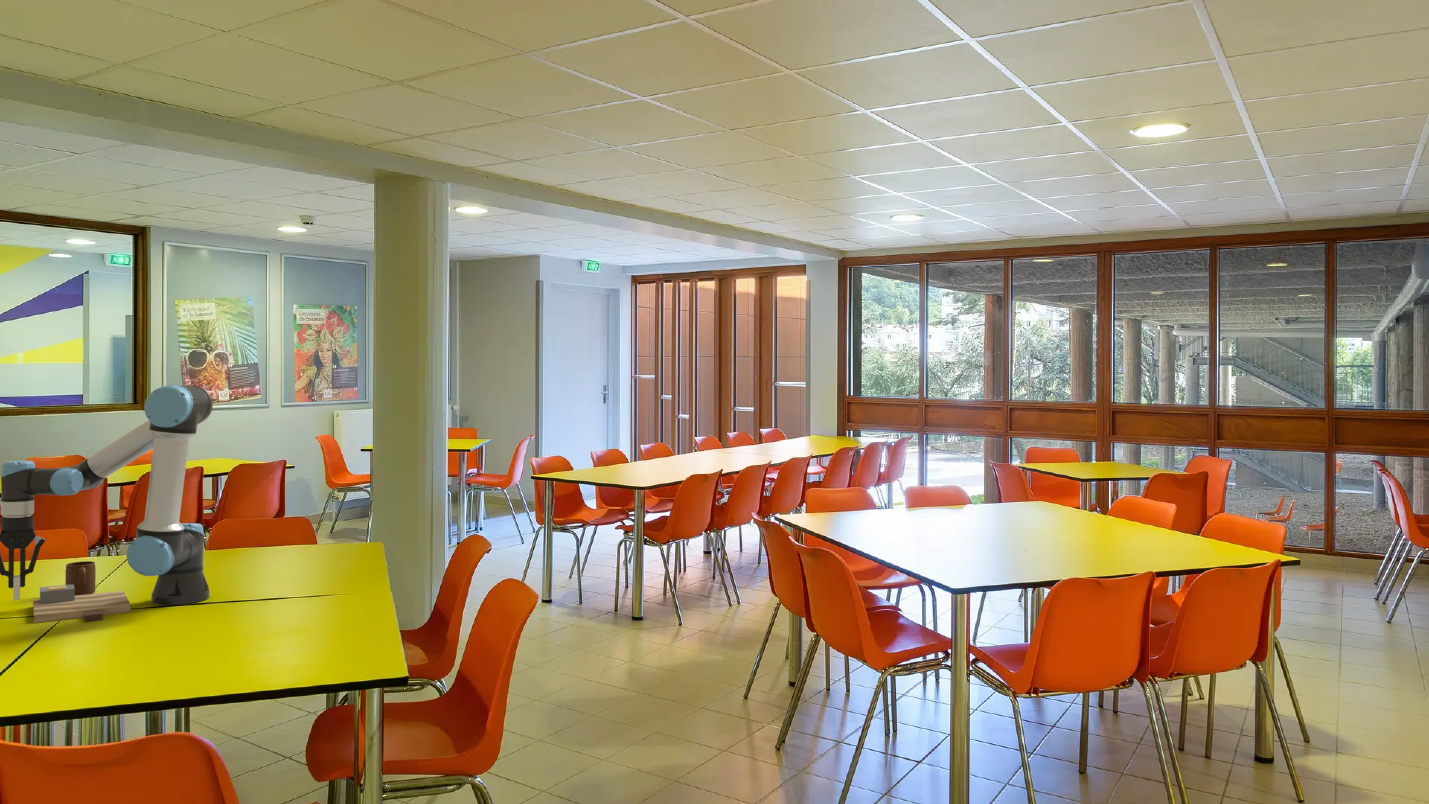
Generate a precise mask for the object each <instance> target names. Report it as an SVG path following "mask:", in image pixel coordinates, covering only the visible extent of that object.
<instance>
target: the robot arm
mask: <svg viewBox="0 0 1429 804" xmlns="http://www.w3.org/2000/svg"><path fill="white" fill-rule="evenodd" d="M213 405H214V403H213V399H212V397H211V395H210V394H209V392H207V390H206V389H204V388H203V387H200V386H197V385H194V384H193V385H181V384H178V385H177V384H168V385H165V386H164V385H163V386H161V387H158V388H155V390H153V391H151V392H150V394H149V395H148V396H147V398H146V400H145V401H144V414H145V417H146V418H147V419H148V420H146V421H144V422H142V423H141V424H140V425H138V426H136V427H135V428H133V429H131V430H130V431H128V432H127V433H125V434H124V435H122V436H121V437H119V438H117V439H116V440H114V441H113V442H111V443H109V444H108V445H107V446H105V447H104V448H101V449H100V450H98V451H97V452H95V453H94V454H92V455H91V456H89V457H87V458H85V460H83V461H81V462H79V463H78V464H76V465H71V466H63V467H55V468H53V467H52V468H50V467H49V468H39V467H36V464H35V463H36V462H34V461H33V460H9V461H8V460H7V461H5V462H3V463H2V465H1V473H0V474H1V475H0V483H1V485H0V490H1V493H0V494H1V495H0V496H1V498H0V515H1V516H2V517H0V543H2V545H3V546H4V547H6V549H8V565H7V566H8V570H6V567H5V563H4V560H3V558H2V554H1V553H0V575H1V576H5V577H7V578H8V580H7V581H8V582H7V583H8V585H7V588H9V589H12V590H13V591H12V592H13V594H12V597H13V598H12V599H13V600H12V601H20V600H21V588H24V587H25V586H26V576H27V575H29V574H31V573H33V572H34V569H35V567H36V562H37V560H38V557H39V555H40V554H39V553H40V551H41V547H42V546H43V545H44V544H45V542H46V540H45V538H44V537H40V536H38V535H37V533H36V532H35V516H34V513H35V496H37V495H39V496H40V495H41V496H43V495H44V496H61V497H64V496H74V495H76V494H77V495H78V493H79V492H80V491H89V490H92V489H94V488H97V487H99V486H100V485H101V484H102V483H103V482H104V480H105V479H106V478H108V477H109V476H111V475H113V474H115V472H117V471H119V470H121V469H122V468H124V467H125V466H126V465H128V464H130V463H131V462H133V461H134V460H135V461H136V460H137V459H138V458H140V457H141V456H143V455H145V454H147V452H150V451H151V450H152V455H151V457H152V458H151V465H150V472H149V481H148V482H149V483H148V489H147V497H146V503H145V504H146V506H145V512H144V513H145V514H144V520H143V521H142V522H140V523H139V524H138V525H137V528H136V534H135V535H136V536H135V539H133V540H132V541H131V542H130V544H128V547H127V549H126V560H127V563H128V566H130V568H131V569H132V570H133V571H134V572H135V573H137V574H139V575H142V576H145V577H155V576H157V578H156V581H155V584H154V586H153V590H152V592H151V595H150V596H151V599H150V601H151V603H152V604H154V605H163V606H168V605H169V606H174V605H175V606H176V605H187V604H192V603H198V602H202V601H205V600H208V599H209V598H210V588H209V584H208V583H207V578H206V576H205V573H204V541H205V540H204V538H205V532H204V526H203V525H202V524H201V523H197V522H196V523H195V522H194V523H193V522H192V523H191V522H190V523H189V522H187V523H182V522H180V517H181V510H182V501H183V492H184V487H185V486H184V484H185V477H186V469H187V462H188V461H187V459H188V451H189V445H190V440H191V438H193V437H194V436H196V435H197V429H198V426H199V424H201V423H203V422H205V421H206V420H208V418H209V417H210V416H211V414H212V412H213ZM33 541H34V542H33ZM32 542H33V543H34V545H35V546H34V549H33V551H32V555H31V557H30V558H31V559H30V560H29V561H30V562H29V565H28V568H26V548H28V546H30V544H32ZM16 549H19V574H16V575H15V573H14V571H15V550H16Z"/></svg>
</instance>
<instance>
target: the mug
mask: <svg viewBox="0 0 1429 804" xmlns="http://www.w3.org/2000/svg"><path fill="white" fill-rule="evenodd" d="M96 571H97V570H96V562H95V561H92V560H91V561H90V560H89V561H87V560H85V561H75V562H68V563H67V564H66V565H65V576H64V577H65V584H64V585H71V584H74V588H75V596H76V595H86V594H95V592H96V578H97V577H96V574H97V573H96Z"/></svg>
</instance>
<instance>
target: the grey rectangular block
mask: <svg viewBox="0 0 1429 804" xmlns="http://www.w3.org/2000/svg"><path fill="white" fill-rule="evenodd" d="M39 599H40V604H47V603H57V602H67V601H75V588H74V584H71V585H65V584H63V585H61V584H60V585H51V586H42V587H41V586H40V587H39Z"/></svg>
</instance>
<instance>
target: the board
mask: <svg viewBox="0 0 1429 804" xmlns="http://www.w3.org/2000/svg"><path fill="white" fill-rule="evenodd" d="M131 606H132V604H131V603H130V601H129V599H128V596H127V595H126V593H125V591H124V590H117V591H109V592H108V591H107V592H98V593H93V594H86V595H76V596H75V601H67V602H57V603H47V604H40V598H39V599H33V600H32V607H33V608H32V610H33V611H32V613H33V623H34V624H36V623H47V622H53V621H55V622H56V621H62V620H63V621H64V620H70V619H71V620H72V619H81V618H82V619H83V620H84V622H85V623H87V622H95V621H103V616H106V615H107V616H108V615H115V614H125V613H131V612H132V607H131Z"/></svg>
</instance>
